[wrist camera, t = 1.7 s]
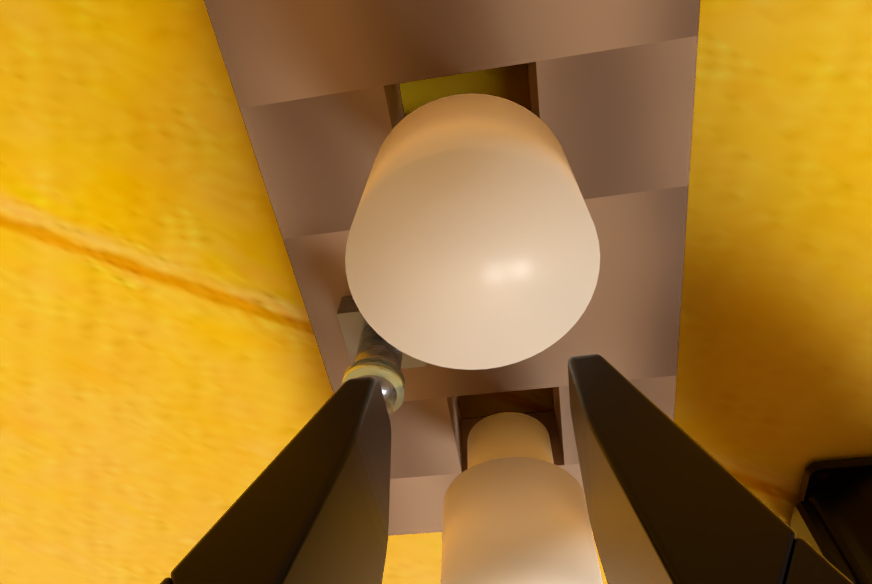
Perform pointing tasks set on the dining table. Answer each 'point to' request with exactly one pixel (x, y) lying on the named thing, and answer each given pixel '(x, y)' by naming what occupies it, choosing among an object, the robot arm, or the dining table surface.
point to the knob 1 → (472, 236)
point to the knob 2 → (515, 511)
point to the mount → (550, 101)
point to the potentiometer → (373, 355)
